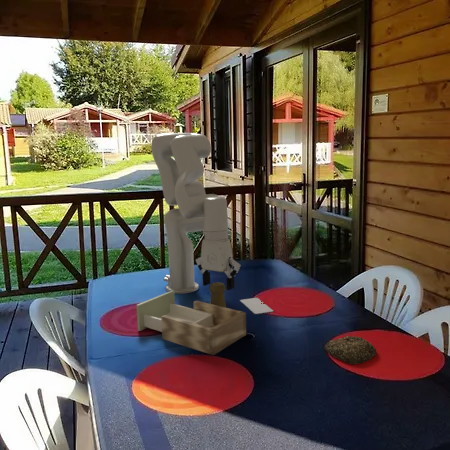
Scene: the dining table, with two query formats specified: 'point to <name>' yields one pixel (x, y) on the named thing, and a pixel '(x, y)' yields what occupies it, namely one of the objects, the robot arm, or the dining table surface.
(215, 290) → the cork
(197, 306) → the caddy
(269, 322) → the dining table surface
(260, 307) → the smartphone
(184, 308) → the drawer
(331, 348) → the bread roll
